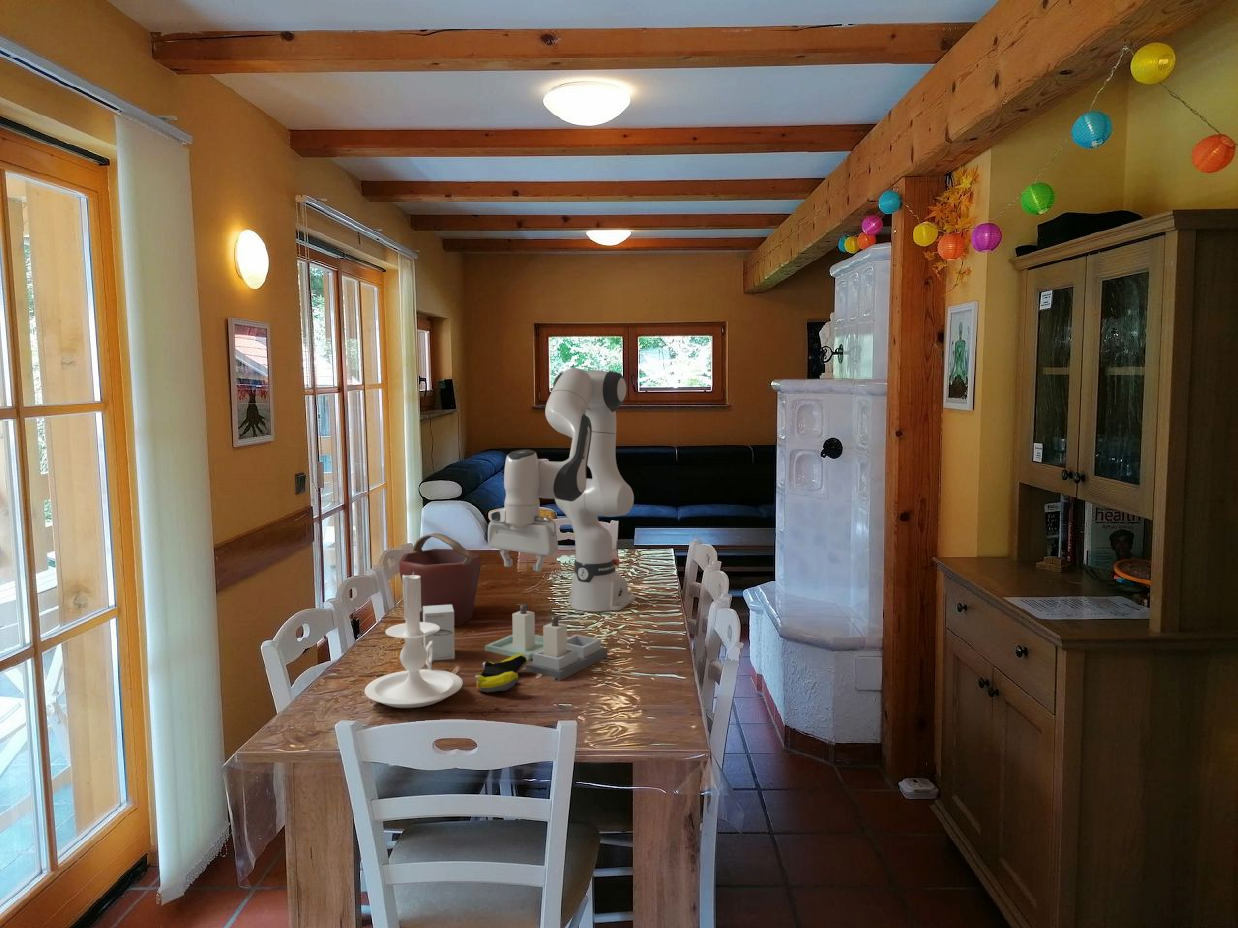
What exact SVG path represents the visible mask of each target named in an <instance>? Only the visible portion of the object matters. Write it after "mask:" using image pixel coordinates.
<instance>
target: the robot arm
mask: <svg viewBox="0 0 1238 928" xmlns="http://www.w3.org/2000/svg"><path fill="white" fill-rule="evenodd" d="M626 397H627V382H626V379H625V377H624V376H623V375H622V373H621V372H617V371H613V370H608V371H606V370H600V369H599V370H598V369H589V370H585V369H584V370H583V369H581V368H578V367H572V368H571V367H570V368H567V369H566V370H564V371H562V372H560V373H559V374H558V375H557V376H556V377H555V378H554V381H553V385H552V389H551V392H550V395H549V396H548V399H547V401H546V406H545V409H544V410H545V412H544V414H545V419H546V420H547V422H548V424H549V425H550V426H551V427H552V428H553V429H554V430H555V431H557V432H558V433H559V434H562V435H565V436H567V437H569V438H571V445H570V450H569V457H568V458H567V459H566V460H564V461H547V460H541V459H540V458H538V455H537V452H536V451H534V450H531V449H518V450H514V451H511V452H510V453H508V454H507V455H506V458H505V464H504V473H503V488H504V491H505V498H504V507H502V508H500V509H497V510H493V511H490V512H489V513H488V519H489V521H490V522H489V523H488V525H487V526H488V527H487V543H488V545H489V547H490V548H491V549H497V550H498V549H499V550H500V551H499V553H500V555H501V557H502V559H503V566H504V567H505V568H511V567H513V565H514V564H513V562H514V559H512V558H511V556H510V554H509V553H510V551H513V552H519V553H525V554H532V555H533V554H534V555H535V556H536V559H537V561H536V563H533V564H532V567H533V568H532V569H533V572H541V571H542V570H543V563H544V562H545V560H546V558H547V556H548V557H549V556H553V555H555V554H557V552H558V551H559V542H558V534H557V524H556V523H555V521H554V520H553V519H552V518H550V517H543V516H541V513H540V511H541V509H540V503H541V502H540V498H541V499H552V500H553V499H554V502H555V504H556V506H557V507H558V509H559V510H560V511H562V513H564V515H565V516H566V518H567V519H568V521H569V523H570V525H571V527H572V530H573V534H574V542H575V544H574V546H575V560H574V563H573V569H574V575H573V576H572V578H571V579H572V580H571V590H570V591H571V592H570V597H569V598H568V600H567V602H568V603H569V604H570V607H571V608H572V609H574V610H578V611H583V612H606V611H607V612H608V611H620V610H622V609H624V608H625V607H627V606H628V605H629V604H630V603H632V602H634V601H635V600H636V599H637V597H636V595H634V594H632V593H629V586H628V584H629V583H628V581H627V579H625V578H624V577H623V576H622V575H621V574H619V573H618V572H617V571H616V569H617V568H616V566H619V565H620V564H621V560H620V559H619V558H613V537H612V534H611V532H610V531H609V530H608V529H607V528H606V527H604V526H603V525H602V524H601V523H600V521H599V518H598V516H599V517H607V518H611V517H612V518H613V517H623V516H625V515H627V514H628V513H629V512H630V511H631V510H632V508H633V505H634V501H635V495H634V492H633V489H632V487H631V486H630V485H629V484H628V483H627V482H626V481H625V480H624V478H623V477H622V475H621V474H620V471H619V469H618V464H617V459H616V446H617V445H616V444H617V414H616V411H617V409H618V408H620V406H621V405H622V404H623V403H624V401H625V399H626ZM587 469H590V473H591V477H592V478H587V474H588V473H587Z"/></svg>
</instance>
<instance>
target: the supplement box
mask: <svg viewBox="0 0 1238 928" xmlns="http://www.w3.org/2000/svg"><path fill="white" fill-rule="evenodd" d="M423 622H428V623H433V624H436V625H438V626H439V627H440V630H439V631H438V632H436V633H434V634H431V635H428V636H424V637H422V641H423V642H422V644H423V646H424V647H425V649H426V646H427V645H428V644H429V642H430V641H433V659H432V663H435V661H445V660H455V658H456V653H455V652H456V650H455V649H456V648H455V647H456V646H455V627H454V610H453V605H452V604H451V605H435V606H423ZM428 657H429V656H428Z"/></svg>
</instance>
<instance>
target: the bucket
mask: <svg viewBox="0 0 1238 928" xmlns="http://www.w3.org/2000/svg"><path fill="white" fill-rule="evenodd" d="M430 538H434V539H435V538H436V539H438V540H439V541H442V542H444V543H445V544H447V545H448V546H450V549H449V548H447V549H445V548H433V549H425V550H423V549H422V548H423V547H424V545H425V544H426V541H428V540H430ZM481 557H482V556H481V555H480V554H477V553H476V552H473V551H472V550H469V549H467V548H465V547H464V546H462V544H461V543H460V542H458V541H457V540H455V539H453V538H452V537H450V536H447V535H445V534H442V533H437V532H435V533H429V534H428V533H427V534H425V535H423V536H421V537H419V538H418V539H417V540H416V541H415V543H414V545H413V546H412V552H409V553H408V552H407V553H404V554H403V555H402V557H401V558H400V559H399V561H398V565H399V567H398V568H399V569H398V570H399V571H398V572H399V577H400V579H401V580H400V581H401V584H402V586H403V577H402V575H405V576H406V575H418V576H421V577H420V580H421V609H422V611H420V622H423V606H435V605H451V604H452V605H453V610H454V626H456V627H459V626H461V625H463V624H465V623H466V621H467V620H469V619H471V620H472V617H473V612H474V605H475V601H476V595H477V594H476V593H477V588H478V584H479V580H480V579H479V578H480V573H481V567H482V565H481V564H482V562H481V561H482V559H481ZM413 573H414V574H413ZM469 621H470V620H469ZM464 622H465V623H464ZM467 622H468V621H467ZM462 623H463V624H462ZM460 624H461V625H460ZM458 625H459V626H458Z"/></svg>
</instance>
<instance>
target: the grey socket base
mask: <svg viewBox="0 0 1238 928" xmlns="http://www.w3.org/2000/svg"><path fill="white" fill-rule="evenodd" d="M542 633H543V634H542V636H543V649H542V650H540V651H538V652H536V653H533V658H532V661H530V662H528V663H526V664H525V671H526V672H529V673H530V672H531V673H535V674H538V675H542V676H548V677H550V678H554V679H555V680H554V681H558V680H559V682H560V681H563V680H565V679H567V678H569V677H570V676H573V675H574V674H577V673H578V672H580V671H582V670H584V669H586V668H588V667H591V666H592V665H593V664H595V663H598V662H600V661H602V660H604V659H605V658H607V657H608V648H605V647H602V645H601V644H602V641H601V639H600V638H595V637H590V636H586V635H580V634H574V635H572V636H569V637H568V625H567V624H566V623H559V616H556V615H553V616H551V622H550V623H547V624H545V625H543V626H542Z"/></svg>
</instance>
